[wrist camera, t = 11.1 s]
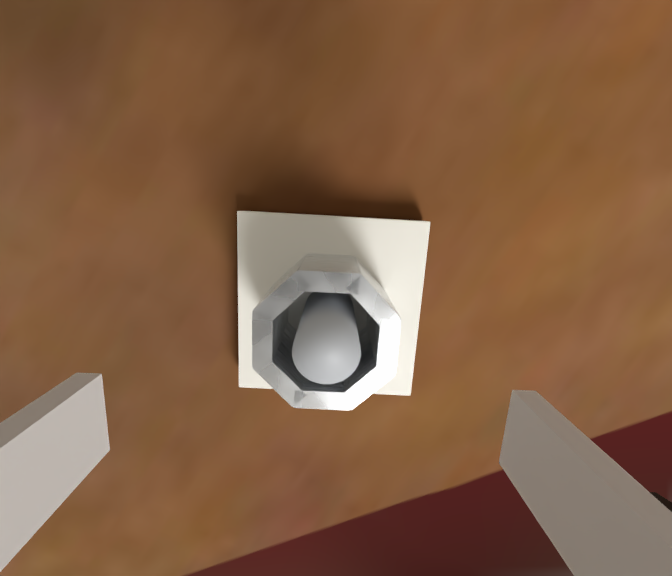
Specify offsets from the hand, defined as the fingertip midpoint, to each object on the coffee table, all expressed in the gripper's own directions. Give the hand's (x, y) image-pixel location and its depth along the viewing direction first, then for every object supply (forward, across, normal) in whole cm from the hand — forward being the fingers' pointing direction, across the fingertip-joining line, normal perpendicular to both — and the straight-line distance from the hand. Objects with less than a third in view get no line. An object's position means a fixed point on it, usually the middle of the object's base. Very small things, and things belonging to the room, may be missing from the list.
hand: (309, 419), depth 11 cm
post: (+14, +1, 0) cm, 14 cm away
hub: (+12, +1, 0) cm, 12 cm away
